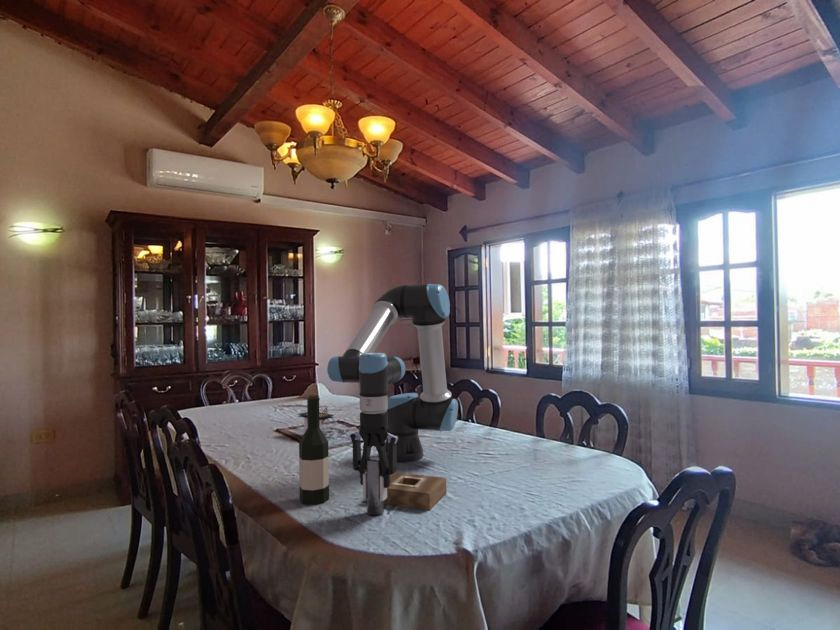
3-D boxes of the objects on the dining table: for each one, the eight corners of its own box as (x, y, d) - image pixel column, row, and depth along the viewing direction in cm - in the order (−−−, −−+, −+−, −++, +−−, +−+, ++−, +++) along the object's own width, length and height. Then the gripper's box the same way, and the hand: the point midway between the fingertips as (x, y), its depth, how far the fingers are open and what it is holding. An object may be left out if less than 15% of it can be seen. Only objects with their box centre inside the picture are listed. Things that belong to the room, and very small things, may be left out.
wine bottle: (301, 495, 150) (300, 393, 150) (330, 494, 151) (329, 393, 151) (297, 505, 142) (296, 398, 142) (327, 504, 143) (326, 397, 143)
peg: (364, 513, 135) (363, 461, 135) (371, 507, 139) (371, 456, 139) (379, 515, 133) (378, 462, 133) (386, 509, 138) (385, 458, 137)
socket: (370, 501, 144) (370, 485, 144) (391, 486, 157) (391, 471, 157) (429, 510, 138) (429, 492, 138) (446, 493, 151) (446, 477, 151)
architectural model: (367, 437, 223) (366, 404, 223) (316, 451, 202) (315, 415, 202) (316, 427, 246) (315, 397, 246) (265, 438, 224) (264, 406, 224)
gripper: (338, 411, 136) (339, 499, 136) (397, 415, 129) (399, 507, 130) (352, 406, 143) (353, 489, 143) (409, 410, 136) (410, 497, 137)
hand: (375, 498), depth 136 cm, fingers closed on peg, 4 cm apart
